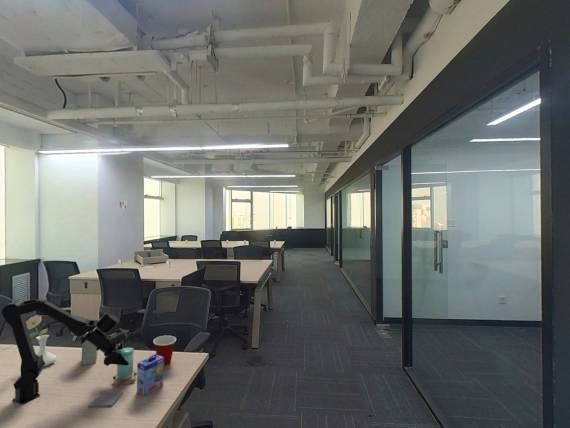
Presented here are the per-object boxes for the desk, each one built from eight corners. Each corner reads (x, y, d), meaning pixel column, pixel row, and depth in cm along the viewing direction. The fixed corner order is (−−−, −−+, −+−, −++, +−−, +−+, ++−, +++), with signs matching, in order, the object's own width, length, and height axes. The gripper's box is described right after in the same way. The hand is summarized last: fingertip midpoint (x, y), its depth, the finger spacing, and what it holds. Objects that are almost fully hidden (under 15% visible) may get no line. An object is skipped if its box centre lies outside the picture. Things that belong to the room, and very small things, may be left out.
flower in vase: (53, 357, 161) (53, 309, 162) (59, 363, 154) (60, 313, 154) (20, 366, 151) (21, 315, 152) (26, 374, 144) (26, 320, 144)
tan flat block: (112, 386, 133) (112, 379, 133) (114, 377, 140) (114, 371, 140) (136, 382, 137) (136, 375, 137) (137, 373, 144) (137, 367, 144)
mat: (88, 407, 118) (88, 405, 118) (100, 394, 127) (100, 392, 127) (112, 406, 119) (112, 404, 119) (123, 393, 128) (123, 391, 128)
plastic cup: (163, 370, 147) (163, 345, 147) (148, 365, 152) (148, 340, 152) (181, 361, 156) (181, 337, 157) (166, 356, 162) (166, 333, 162)
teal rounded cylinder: (124, 378, 134) (124, 355, 134) (112, 375, 137) (112, 352, 137) (136, 371, 140) (137, 349, 140) (125, 368, 143) (126, 346, 143)
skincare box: (83, 359, 159) (83, 328, 159) (99, 356, 162) (99, 326, 162) (80, 366, 151) (80, 333, 152) (97, 363, 154) (97, 331, 155)
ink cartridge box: (144, 396, 126) (145, 360, 126) (136, 392, 128) (136, 357, 129) (164, 384, 135) (164, 351, 135) (156, 381, 137) (156, 348, 137)
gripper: (112, 332, 129) (141, 354, 133) (117, 319, 146) (143, 339, 150) (90, 355, 125) (121, 376, 130) (98, 338, 143) (124, 358, 147)
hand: (128, 361), depth 139 cm, fingers closed on teal rounded cylinder, 6 cm apart
